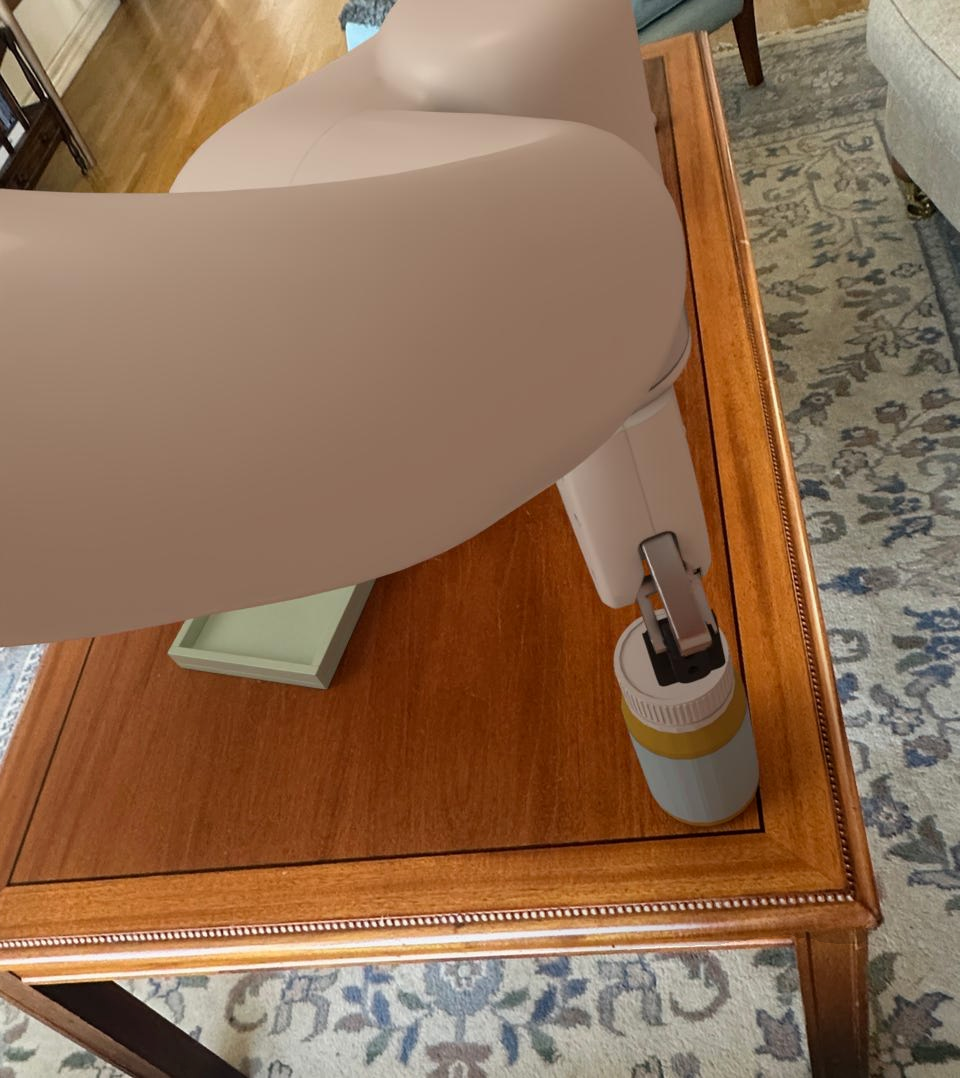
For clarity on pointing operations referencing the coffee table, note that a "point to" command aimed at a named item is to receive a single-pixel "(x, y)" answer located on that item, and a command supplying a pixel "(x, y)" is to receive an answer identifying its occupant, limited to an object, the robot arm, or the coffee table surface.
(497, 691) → the coffee table surface
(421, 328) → the robot arm
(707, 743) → the bottle
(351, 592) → the tray
